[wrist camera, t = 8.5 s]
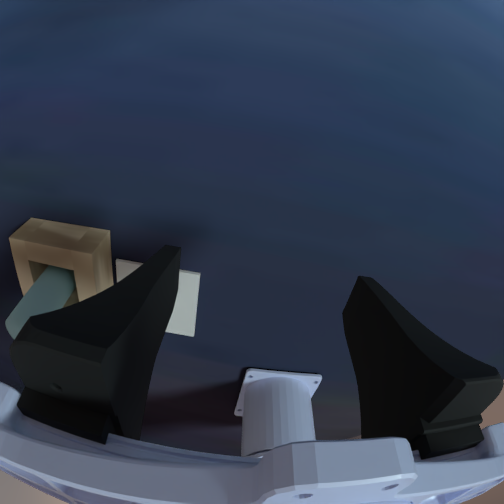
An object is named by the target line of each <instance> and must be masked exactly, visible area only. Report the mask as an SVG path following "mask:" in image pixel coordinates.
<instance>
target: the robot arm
mask: <svg viewBox="0 0 504 504" xmlns="http://www.w3.org/2000/svg"><path fill="white" fill-rule="evenodd" d="M180 255H181V247H175V246H169V245H165V246H164V247H162V248H161V249H160V250H159V251H158V252H157V253H155V254H154V255H153V256H152V257H151V258H149V259H148V260H147V261H146V262H145V263H143V264H142V265H141V266H140V267H138V268H137V269H136V270H134V271H133V272H132V273H130V274H129V275H128V276H126V277H125V278H123V279H122V280H120V281H119V282H117V283H116V284H114V285H112V286H111V287H109V288H107V289H105V290H104V291H102V292H100V293H98V294H96V295H93V296H91V297H89V298H87V299H85V300H83V301H80V302H78V303H75V304H72V305H70V306H67V307H64V308H61V309H58V310H54V311H50V312H46V313H42V314H38V315H34V316H30V317H29V319H28V320H27V321H26V323H25V324H24V326H23V327H22V329H21V330H20V332H19V333H18V335H17V336H16V338H15V340H14V341H13V343H12V344H11V346H10V356H11V359H12V362H13V364H14V366H15V368H16V370H17V372H18V374H19V376H20V378H21V379H22V381H23V383H24V385H25V388H24V390H23V392H22V395H21V393H20V392H18V391H17V390H16V389H14V388H13V387H11V386H9V385H6V384H4V383H2V382H0V470H2V471H4V472H5V473H7V474H9V475H11V476H13V477H15V478H16V479H18V480H20V481H22V482H24V483H26V484H28V485H30V486H32V487H34V488H36V489H38V490H40V491H42V492H44V493H46V494H49V495H51V496H53V497H55V498H58V499H60V500H62V501H64V502H67V503H69V504H459V503H462V502H464V501H467V500H469V499H472V498H474V497H476V496H478V495H481V494H482V493H484V492H486V491H488V490H489V489H491V488H492V487H494V486H495V485H497V484H499V483H500V482H502V481H503V480H504V424H503V423H498V424H495V425H491V426H488V427H485V428H484V429H482V430H481V428H480V426H479V424H480V423H482V421H483V419H482V417H481V413H482V412H483V411H484V410H485V409H486V408H487V407H488V406H489V405H490V404H491V403H492V402H493V401H494V400H495V399H496V397H497V396H498V395H499V393H500V392H501V390H502V387H503V384H504V383H503V380H502V378H501V376H500V374H499V372H498V371H497V369H496V368H495V367H492V366H490V365H488V364H485V363H483V362H481V361H478V360H476V359H474V358H472V357H470V356H469V355H467V354H465V353H463V352H461V351H459V350H458V349H456V348H454V347H453V346H451V345H450V344H448V343H447V342H445V341H444V340H442V339H441V338H439V337H438V336H437V335H435V334H434V333H433V332H431V331H430V330H429V329H428V328H426V327H425V326H424V325H423V324H421V323H420V322H419V321H418V320H417V319H416V318H415V317H414V316H412V315H411V314H410V313H409V312H408V311H407V310H406V309H405V308H404V307H403V306H402V305H401V304H400V303H399V302H398V301H397V300H396V299H395V298H393V297H392V296H391V295H390V294H389V293H388V292H387V291H386V290H385V289H384V288H383V287H382V286H381V285H380V284H379V283H378V282H376V281H375V280H374V279H373V278H370V277H364V276H358V278H357V281H356V283H355V286H354V288H353V290H352V292H351V295H350V297H349V299H348V302H347V304H346V306H345V308H344V310H343V313H342V314H343V324H344V331H345V336H346V340H347V344H348V348H349V352H350V355H351V359H352V363H353V367H354V371H355V375H356V379H357V384H358V391H359V400H360V412H361V439H352V440H315V431H314V422H313V414H312V406H311V397H312V396H313V394H314V392H315V391H316V389H317V387H318V385H319V384H320V382H321V380H322V376H321V375H319V374H306V373H293V372H282V371H272V370H262V369H253V368H249V369H247V370H246V373H245V377H244V380H243V384H242V387H241V391H240V394H239V397H238V401H237V404H236V408H235V411H234V414H235V415H236V416H243V418H242V446H241V456H242V457H239V456H228V455H219V454H211V453H203V452H196V451H190V450H184V449H178V448H172V447H167V446H162V445H157V444H152V443H147V442H143V441H140V434H141V427H142V421H143V415H144V410H145V404H146V399H147V394H148V389H149V384H150V380H151V375H152V371H153V367H154V362H155V359H156V356H157V353H158V350H159V347H160V345H161V342H162V339H163V337H164V334H165V331H166V329H167V326H168V323H169V320H170V318H171V315H172V312H173V309H174V305H175V301H176V297H177V293H178V286H179V270H180Z"/></svg>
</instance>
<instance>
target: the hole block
mask: <svg viewBox="0 0 504 504" xmlns="http://www.w3.org/2000/svg"><path fill="white" fill-rule="evenodd" d="M9 241H10V246H11V250H12V255H13V259H14V263H15V267H16V271H17V275H18V279H19V282H20V286H21V290H22V293H23V296H24V295H25V294H26V293H27V292H28V290H29V289H30V288H31V286H32V285H33V284H34V283H35V281H36V280H37V279H38V278H39V276H40V275H41V274H42V273H43V272H44V270H45V269H46V268H47V267H48V266H49V265H52V266H56V267H61V268H65V269H70V270H74V275H75V281H76V288H75V289H74V291H73V292H72V294H71V295H70V297H69V298H68V300H67V301H66V303H65V304H64V306H63V308H64V307H67V306H70V305H72V304H75V303H78V302H80V301H83V300H85V299H87V298H89V297H91V296H93V295H96V294H98V293H100V292H102V291H104V290H105V289H107V288H109V287H111V286H112V285H114V284H113V272H112V258H111V241H110V230H104V229H98V228H91V227H85V226H79V225H73V224H67V223H61V222H55V221H49V220H42V219H36V218H30V219H29V220H28V221H27V222H26V223H25V224H23V225H22V226H21V227H20V228H19V229H18V230H17V231H15V232H14V233H13V234H12V235H11V236H10V237H9Z"/></svg>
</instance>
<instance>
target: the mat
mask: <svg viewBox="0 0 504 504" xmlns="http://www.w3.org/2000/svg"><path fill="white" fill-rule="evenodd" d="M142 264H143V263H139V262H133V261H128V260H122V259H116V273H117V282H119V281H120V280H122V279H123V278H125V277H126V276H128V275H129V274H130V273H132V272H133V271H134V270H136V269H137V268H138V267H140V266H141V265H142ZM199 281H200V273H197V272H191V271H185V270H179V286H178V293H177V297H176V301H175V305H174V309H173V312H172V315H171V318H170V320H169V323H168V326H167V329H166V331H165V332H170V333H175V334H181V335H187V336H193V337H194V332H195V321H196V311H197V301H198V291H199Z"/></svg>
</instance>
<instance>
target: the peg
mask: <svg viewBox="0 0 504 504" xmlns="http://www.w3.org/2000/svg"><path fill="white" fill-rule="evenodd" d="M75 288H76V281H75V275H74V270H70V269H65V268H61V267H56V266H52V265H49V266H48V267H47V268H46V269H45V270H44V272H43V273H42V274H41V275H40V276H39V278H38V279H37V280H36V281H35V283H34V284H33V285H32V286H31V288H30V289H29V290H28V292H27V293H26V294H25V295H24V297H23V298H22V299H21V301H20V302H19V303H18V305H17V306H16V307H15V309H14V310H13V311H12V313H11V314H10V315H9V317H8V318H7V320H6V322H5V324H6V328H7V330H8V332H9V334H10V335H11V336H12V338H13V339H14V340H15V338H16V336H17V335H18V333H19V332H20V330H21V329H22V327H23V326H24V324H25V323H26V321H27V320H28V319H29V317H30V316H34V315H38V314H42V313H46V312H50V311H54V310H58V309H61V308H63V306H64V304H65V303H66V301H67V300H68V298H69V297H70V295H71V294H72V292H73V291H74V289H75Z"/></svg>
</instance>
